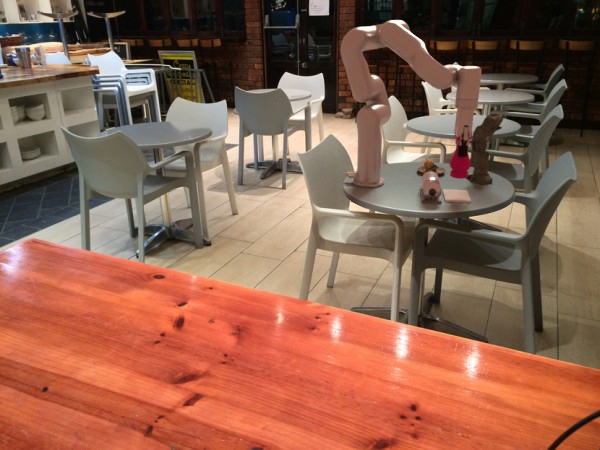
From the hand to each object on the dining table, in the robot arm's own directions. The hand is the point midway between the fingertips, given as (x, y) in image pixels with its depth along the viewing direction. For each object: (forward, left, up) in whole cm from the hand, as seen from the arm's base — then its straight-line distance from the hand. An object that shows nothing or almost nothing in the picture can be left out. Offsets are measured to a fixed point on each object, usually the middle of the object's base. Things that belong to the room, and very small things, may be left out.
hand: (461, 153), depth 178 cm
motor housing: (-10, 0, -17) cm, 19 cm away
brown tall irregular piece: (+11, +21, -17) cm, 29 cm away
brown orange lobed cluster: (-8, +30, -17) cm, 35 cm away
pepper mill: (0, 0, -9) cm, 9 cm away
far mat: (0, 0, -17) cm, 17 cm away
